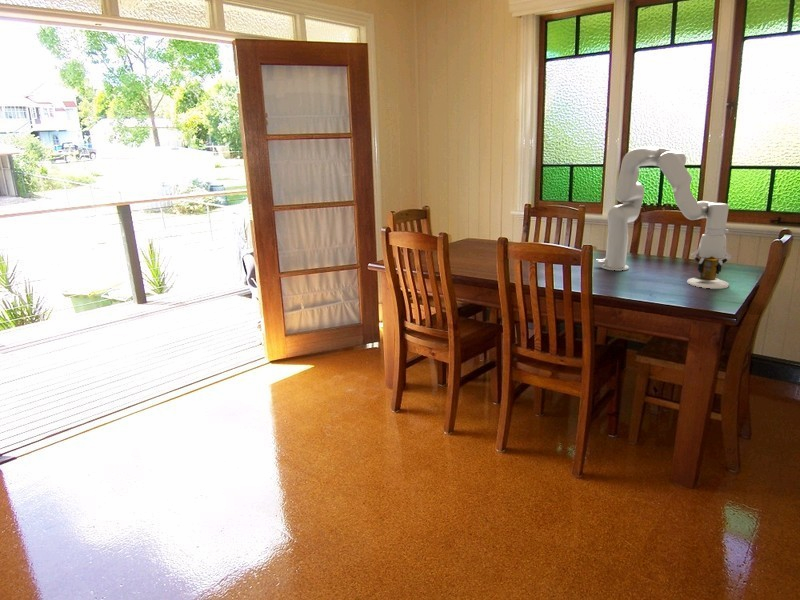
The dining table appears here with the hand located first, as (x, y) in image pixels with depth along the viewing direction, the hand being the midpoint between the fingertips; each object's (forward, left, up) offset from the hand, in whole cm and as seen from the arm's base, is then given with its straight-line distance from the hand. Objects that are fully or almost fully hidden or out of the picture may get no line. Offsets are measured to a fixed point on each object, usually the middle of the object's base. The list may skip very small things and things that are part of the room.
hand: (708, 272), depth 238 cm
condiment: (-1, 0, -3) cm, 3 cm away
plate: (0, 0, -5) cm, 5 cm away
